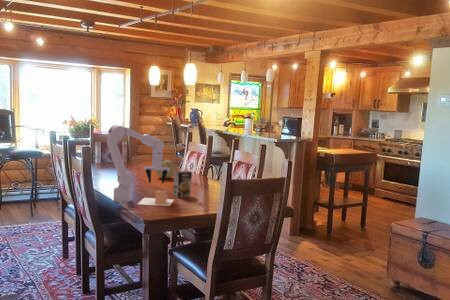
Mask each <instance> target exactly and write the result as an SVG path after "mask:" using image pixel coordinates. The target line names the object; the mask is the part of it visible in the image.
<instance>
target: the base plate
mask: <svg viewBox="0 0 450 300" xmlns="http://www.w3.org/2000/svg"><path fill="white" fill-rule="evenodd" d="M174 201H175V199H171V198H167V202H166V204H155V197H153V198H152V197H143V198H142V199H141V200H139V202H138V203H137V205H143V206H162V207H163V206H164V207H170V206H171V205H172V204H173V202H174Z"/></svg>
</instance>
